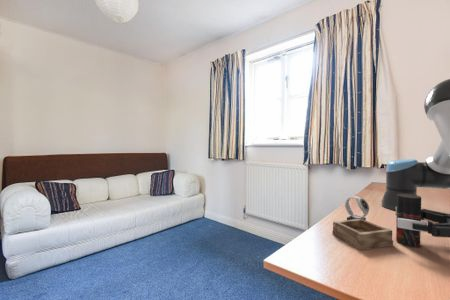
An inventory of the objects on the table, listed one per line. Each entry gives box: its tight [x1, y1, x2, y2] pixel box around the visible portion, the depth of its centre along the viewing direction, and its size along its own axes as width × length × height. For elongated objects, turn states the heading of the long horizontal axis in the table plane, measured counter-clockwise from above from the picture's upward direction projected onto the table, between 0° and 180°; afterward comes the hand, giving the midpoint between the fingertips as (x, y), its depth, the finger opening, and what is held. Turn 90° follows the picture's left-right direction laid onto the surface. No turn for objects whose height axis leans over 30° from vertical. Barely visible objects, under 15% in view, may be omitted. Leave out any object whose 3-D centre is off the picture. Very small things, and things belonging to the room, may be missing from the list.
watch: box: [344, 195, 370, 221], centre depth 86 cm, size 6×8×11 cm
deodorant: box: [395, 194, 422, 248], centre depth 71 cm, size 6×6×15 cm
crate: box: [331, 219, 394, 251], centre depth 74 cm, size 12×12×4 cm
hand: (396, 216), depth 73 cm, fingers open, 13 cm apart
